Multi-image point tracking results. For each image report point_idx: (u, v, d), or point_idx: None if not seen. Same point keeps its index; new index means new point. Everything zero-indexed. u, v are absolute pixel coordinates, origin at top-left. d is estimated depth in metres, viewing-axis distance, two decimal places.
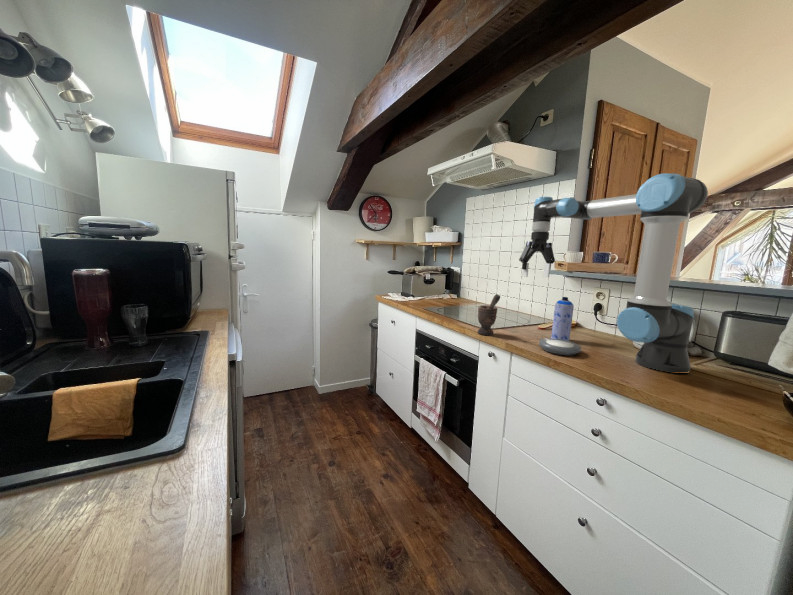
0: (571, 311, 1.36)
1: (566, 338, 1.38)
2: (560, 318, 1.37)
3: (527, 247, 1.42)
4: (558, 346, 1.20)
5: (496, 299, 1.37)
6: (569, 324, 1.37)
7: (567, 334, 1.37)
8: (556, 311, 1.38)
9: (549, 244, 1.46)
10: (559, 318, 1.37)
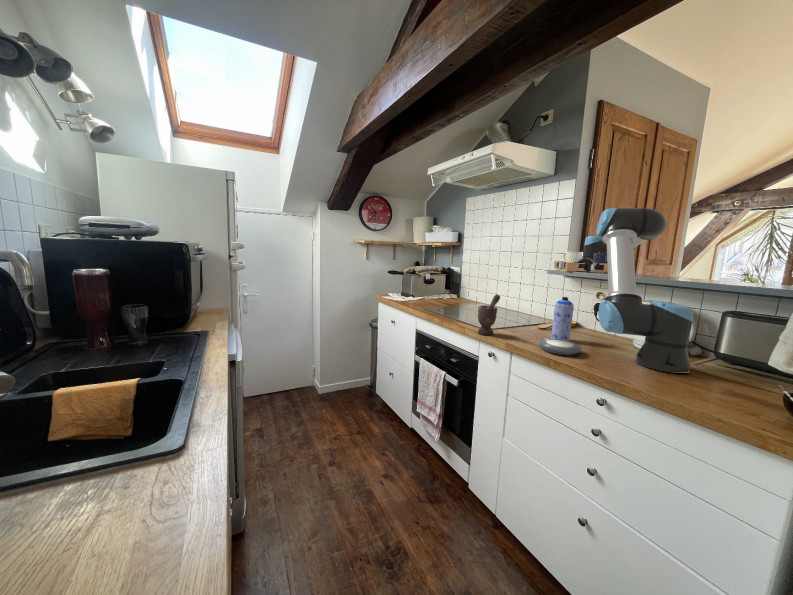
0: (571, 311, 1.36)
1: (566, 338, 1.38)
2: (560, 318, 1.37)
3: None
4: (558, 346, 1.20)
5: (496, 299, 1.37)
6: (569, 324, 1.37)
7: (567, 334, 1.37)
8: (556, 311, 1.38)
9: None
10: (559, 318, 1.37)
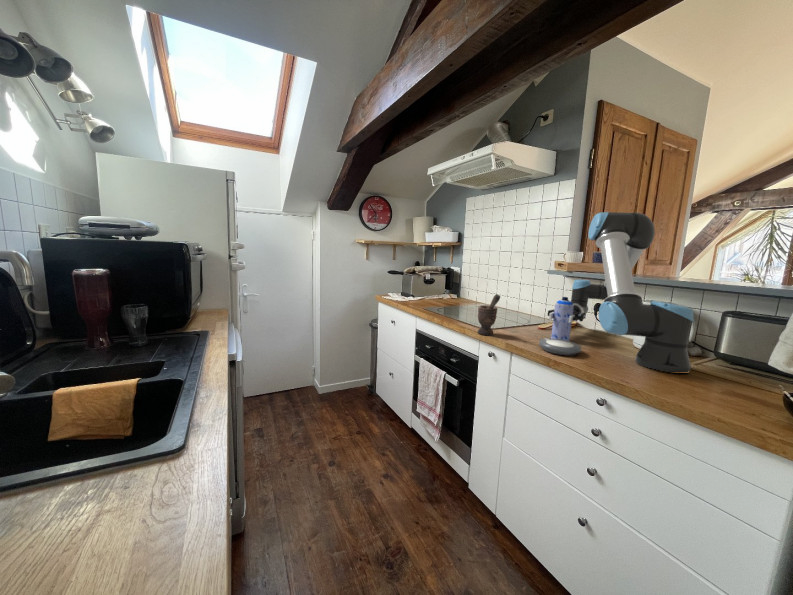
0: (571, 311, 1.36)
1: (566, 338, 1.38)
2: (560, 318, 1.37)
3: None
4: (558, 346, 1.20)
5: (496, 299, 1.37)
6: (569, 324, 1.37)
7: (567, 334, 1.37)
8: (556, 311, 1.38)
9: None
10: (559, 318, 1.37)
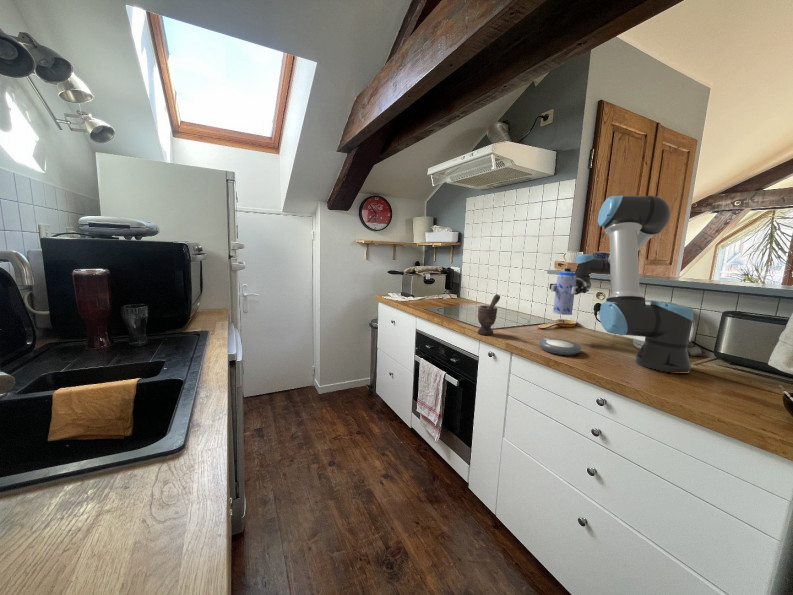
0: (574, 282, 1.32)
1: (569, 310, 1.33)
2: (562, 289, 1.33)
3: None
4: (558, 346, 1.20)
5: (496, 299, 1.37)
6: (572, 296, 1.33)
7: (570, 306, 1.33)
8: (558, 283, 1.34)
9: None
10: (562, 289, 1.33)
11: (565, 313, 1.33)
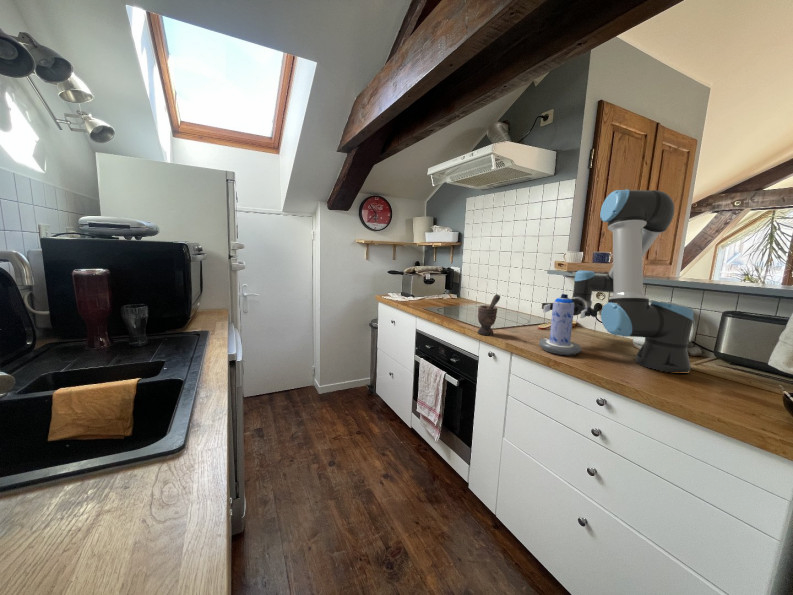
0: (572, 310, 1.19)
1: (566, 341, 1.21)
2: (559, 318, 1.20)
3: None
4: (558, 346, 1.20)
5: (496, 299, 1.37)
6: (570, 325, 1.20)
7: (567, 336, 1.20)
8: (555, 311, 1.22)
9: (587, 307, 1.29)
10: (558, 318, 1.20)
11: (563, 344, 1.21)
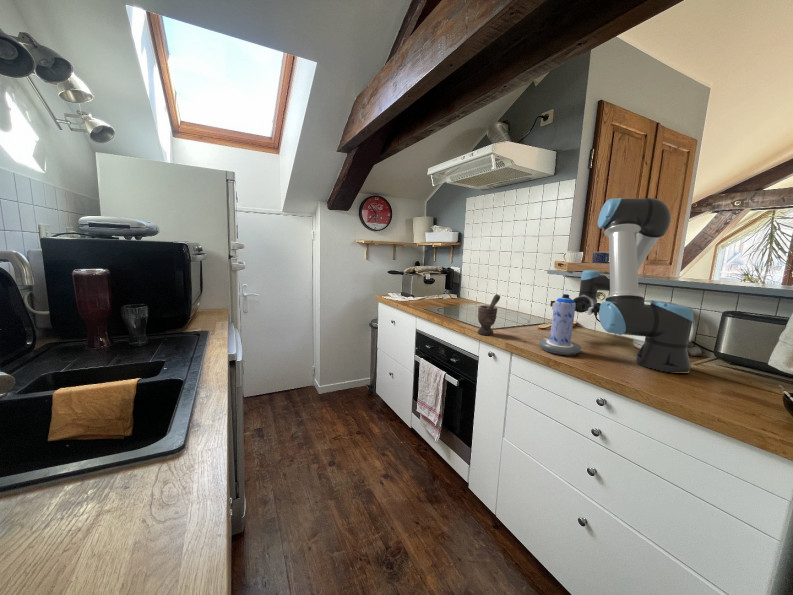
0: (573, 310, 1.19)
1: (567, 341, 1.21)
2: (560, 318, 1.20)
3: None
4: (558, 346, 1.20)
5: (496, 299, 1.37)
6: (570, 326, 1.20)
7: (568, 336, 1.20)
8: (556, 310, 1.22)
9: (593, 305, 1.37)
10: (559, 318, 1.20)
11: (563, 344, 1.21)
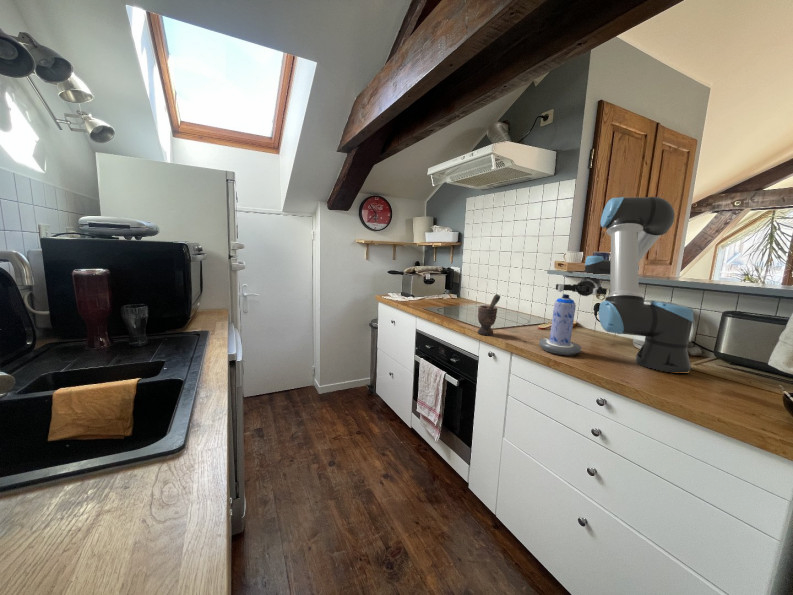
0: (573, 311, 1.19)
1: (567, 341, 1.21)
2: (560, 318, 1.20)
3: None
4: (558, 346, 1.20)
5: (496, 299, 1.37)
6: (570, 326, 1.20)
7: (568, 337, 1.20)
8: (556, 311, 1.21)
9: (598, 287, 1.41)
10: (559, 318, 1.20)
11: (563, 344, 1.21)
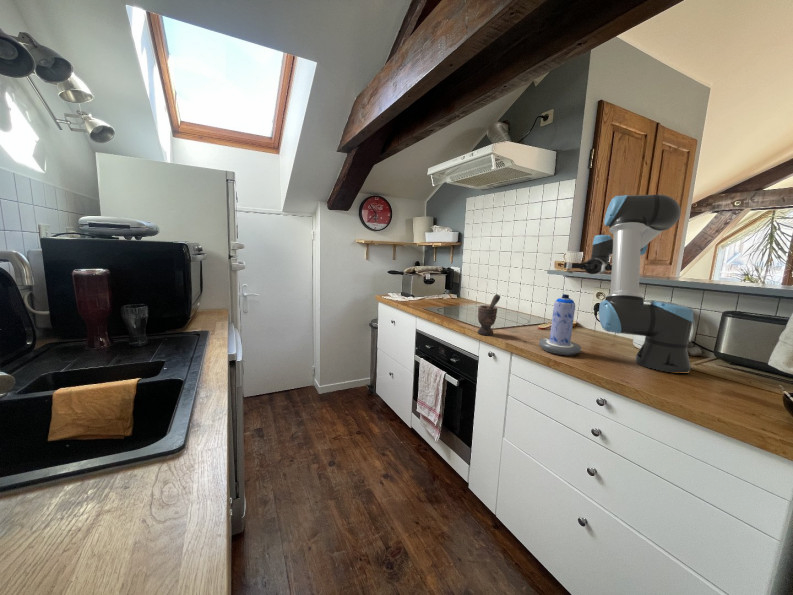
0: (572, 310, 1.19)
1: (567, 341, 1.21)
2: (559, 318, 1.20)
3: None
4: (558, 346, 1.20)
5: (496, 299, 1.37)
6: (570, 326, 1.20)
7: (568, 337, 1.20)
8: (556, 311, 1.21)
9: None
10: (559, 318, 1.20)
11: (563, 344, 1.21)
